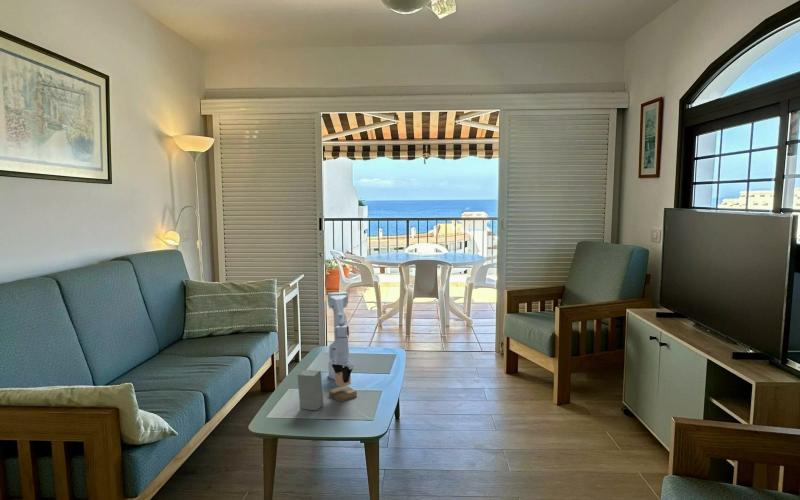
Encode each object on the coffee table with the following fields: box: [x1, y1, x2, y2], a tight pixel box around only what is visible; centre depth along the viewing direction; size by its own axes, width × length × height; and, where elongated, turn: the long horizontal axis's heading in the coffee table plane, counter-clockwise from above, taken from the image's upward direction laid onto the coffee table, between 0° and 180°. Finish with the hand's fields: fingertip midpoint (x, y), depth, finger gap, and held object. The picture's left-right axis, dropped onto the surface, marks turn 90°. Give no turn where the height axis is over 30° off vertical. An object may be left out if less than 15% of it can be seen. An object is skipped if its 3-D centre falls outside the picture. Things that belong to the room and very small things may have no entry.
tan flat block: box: [328, 385, 358, 403], centre depth 210 cm, size 9×9×3 cm
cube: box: [334, 371, 352, 387], centre depth 209 cm, size 5×5×5 cm
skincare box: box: [296, 368, 324, 411], centre depth 198 cm, size 8×7×16 cm
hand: (342, 380), depth 209 cm, fingers closed on cube, 5 cm apart
